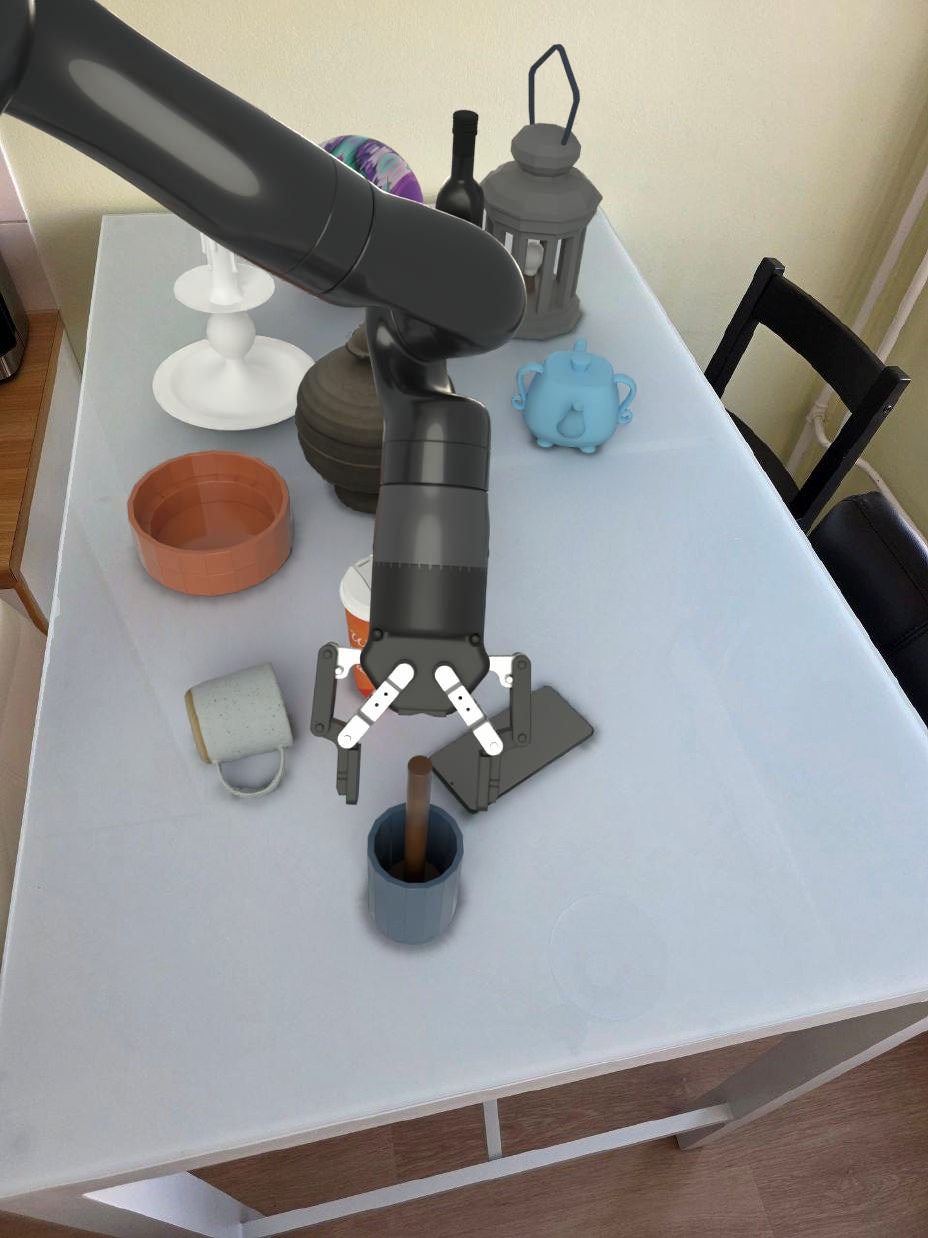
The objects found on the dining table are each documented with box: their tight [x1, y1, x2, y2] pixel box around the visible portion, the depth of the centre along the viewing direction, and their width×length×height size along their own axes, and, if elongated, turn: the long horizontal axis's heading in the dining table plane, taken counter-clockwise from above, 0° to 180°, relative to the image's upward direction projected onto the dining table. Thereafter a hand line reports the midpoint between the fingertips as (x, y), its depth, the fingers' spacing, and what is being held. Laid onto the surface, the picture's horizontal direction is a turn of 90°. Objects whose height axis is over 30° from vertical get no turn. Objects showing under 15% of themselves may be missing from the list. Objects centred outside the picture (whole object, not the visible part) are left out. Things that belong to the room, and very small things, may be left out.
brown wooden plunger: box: [387, 754, 441, 883], centre depth 66 cm, size 5×5×20 cm
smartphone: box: [428, 685, 595, 815], centre depth 84 cm, size 7×1×15 cm
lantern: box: [479, 43, 604, 341], centre depth 123 cm, size 17×17×35 cm
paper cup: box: [338, 553, 375, 699], centre depth 83 cm, size 8×8×14 cm
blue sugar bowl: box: [510, 337, 638, 454], centre depth 112 cm, size 13×14×11 cm
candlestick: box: [152, 231, 316, 431], centre depth 107 cm, size 21×25×28 cm
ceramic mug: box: [184, 661, 294, 799], centre depth 79 cm, size 11×8×8 cm
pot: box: [294, 326, 457, 515], centre depth 100 cm, size 18×18×20 cm
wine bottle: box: [434, 109, 485, 229], centre depth 118 cm, size 6×6×30 cm
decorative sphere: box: [317, 134, 425, 205], centre depth 131 cm, size 20×20×20 cm
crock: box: [366, 801, 465, 946], centre depth 70 cm, size 7×7×10 cm
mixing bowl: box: [126, 449, 294, 597], centre depth 97 cm, size 16×16×6 cm
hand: (417, 805), depth 60 cm, fingers open, 8 cm apart
